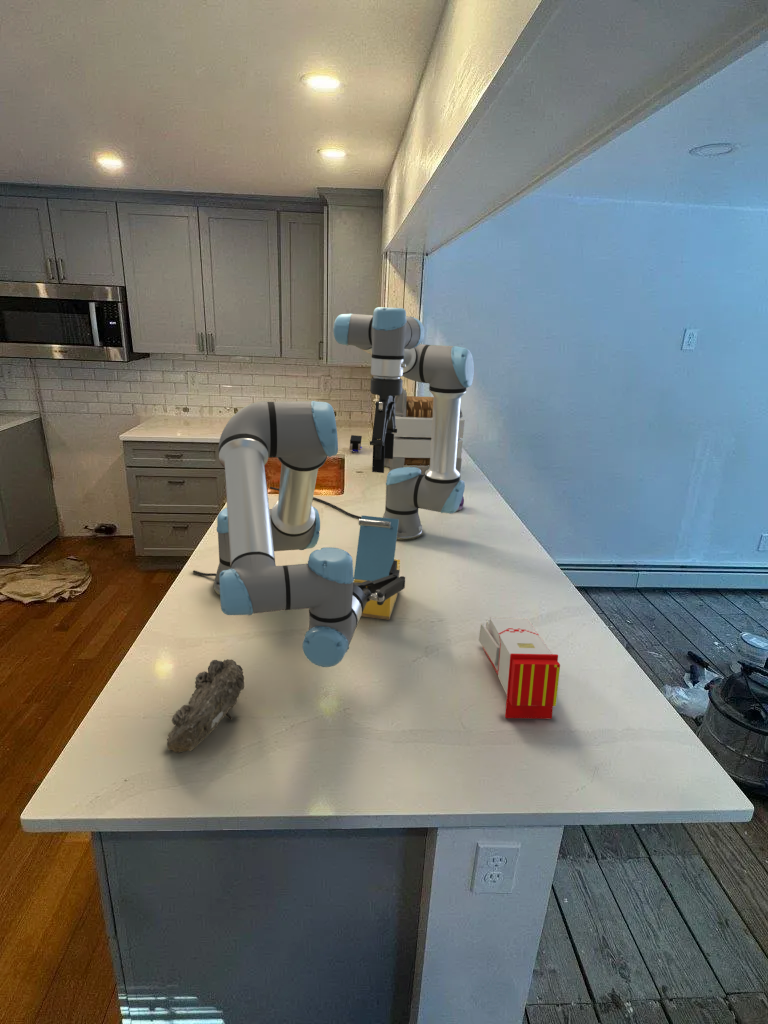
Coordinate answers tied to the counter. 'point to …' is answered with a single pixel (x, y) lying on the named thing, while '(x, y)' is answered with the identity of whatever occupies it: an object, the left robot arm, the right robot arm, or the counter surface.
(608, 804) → the counter surface
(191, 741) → the fossil
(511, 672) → the toy
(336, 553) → the left robot arm
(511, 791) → the counter surface
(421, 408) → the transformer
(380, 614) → the chest
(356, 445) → the figurine character
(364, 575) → the lid
